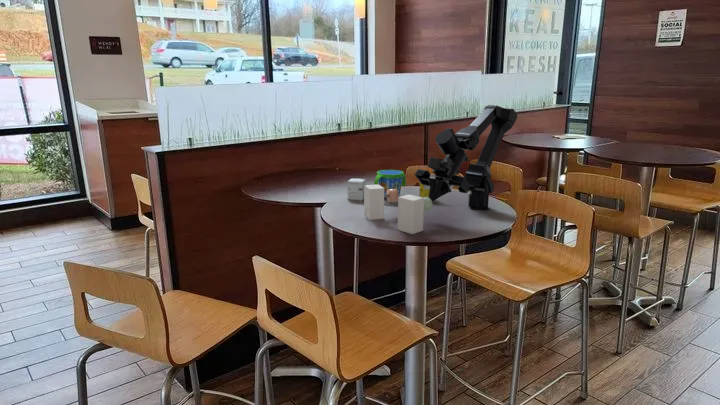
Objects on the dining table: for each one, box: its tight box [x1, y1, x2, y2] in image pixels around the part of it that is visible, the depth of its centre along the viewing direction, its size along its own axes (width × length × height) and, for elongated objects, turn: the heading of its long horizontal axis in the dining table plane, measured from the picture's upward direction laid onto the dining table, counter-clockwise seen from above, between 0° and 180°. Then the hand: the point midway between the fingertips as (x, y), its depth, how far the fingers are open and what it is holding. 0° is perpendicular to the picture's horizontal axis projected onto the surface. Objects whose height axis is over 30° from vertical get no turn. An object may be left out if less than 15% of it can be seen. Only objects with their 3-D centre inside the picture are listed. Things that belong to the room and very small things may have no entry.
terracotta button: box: [384, 189, 400, 203], centre depth 166 cm, size 6×4×4 cm
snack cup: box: [373, 169, 407, 200], centre depth 191 cm, size 16×10×10 cm
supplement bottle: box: [418, 182, 430, 198], centre depth 189 cm, size 5×5×10 cm
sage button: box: [423, 197, 433, 213], centre depth 153 cm, size 6×4×4 cm
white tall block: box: [363, 183, 385, 221], centre depth 165 cm, size 5×6×10 cm
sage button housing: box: [397, 194, 425, 235], centre depth 150 cm, size 5×6×10 cm
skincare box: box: [347, 178, 367, 201], centre depth 190 cm, size 6×6×7 cm
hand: (429, 201), depth 156 cm, fingers closed
